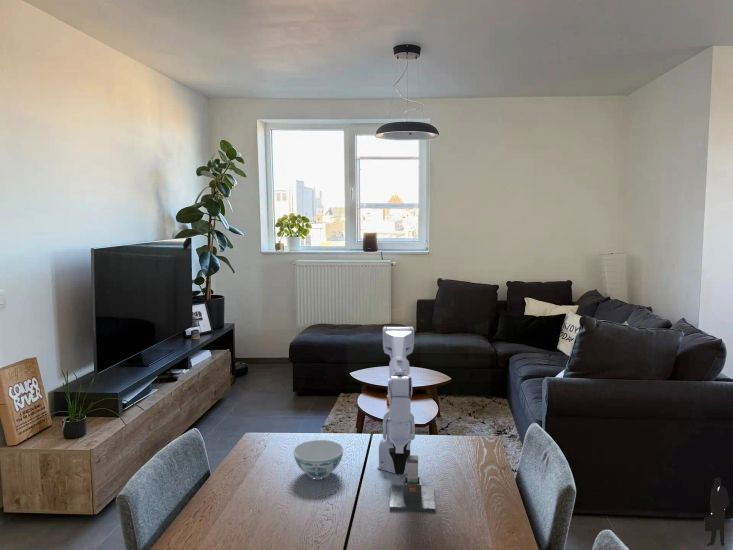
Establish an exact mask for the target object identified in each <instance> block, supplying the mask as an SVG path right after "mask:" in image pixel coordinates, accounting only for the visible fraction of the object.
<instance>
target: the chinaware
mask: <svg viewBox="0 0 733 550" xmlns="http://www.w3.org/2000/svg"><path fill="white" fill-rule="evenodd" d="M343 454H344V447H343V446H342V445H341V444H340V443H338V442H336V441H332V440H327V439H314V440H309V441H305V442H302V443H300V444H298V445H297V446H295V447H294V448H293V456H294V461H295V462H296V464H297V466H298V468H299V469H300V470H301V471H302V472H303V473H305V474H306V475H307V477H308V476H309V477H308V478H310V477H311V478H310V479H312V478H315V479H314V480H322V479H321V478H324V479H326V478H325V477H327V478H328V477H330V475H331V473H332V472H334V470H336V469H337V468H338V466H339V464H340V463H341V461H342V458H343Z"/></svg>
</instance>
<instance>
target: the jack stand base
mask: <svg viewBox="0 0 733 550" xmlns="http://www.w3.org/2000/svg"><path fill="white" fill-rule="evenodd" d="M390 487H391V488H390V498H389V499H390V500H389V501H390V502H389V511H396V512H398V511H400V512H423V513H436V500H435V489H434V485H422V476H418V484H407V475H404V476H403V485H402V484H391V486H390Z"/></svg>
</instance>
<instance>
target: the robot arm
mask: <svg viewBox="0 0 733 550" xmlns="http://www.w3.org/2000/svg"><path fill="white" fill-rule="evenodd" d="M414 345H415V328H414V327H413V326H383V327H382V347H383V348H382V349H383V353H384V354H386V355H388V356H389V358H390V361H389V365H388V367H389V369H388V371H389V372H388V373H389V374H388V375H389V376H388V378H387V395H388V405H389V407H388V408H389V409H388V410H386V412H384V413H383V416H382V417H383V418H382V419H383V420H382V439H381V440H380V442H379V445H378V465H377V469H378V470H382V471H385V472H389V473H392V474H395V475H397V476H400V477H404V476H406V475H407V458H408V456H409V455H411V443H412V441H414V440H415V438H416V437H415V436H416V434H415V433H416V431H415V430H416V429H415V427H416V425H415V424H416V423H415V416H414V413H412V411H411V398H412V395H413V379H412V375H411V373H410V372H411V370H410V361H409V360H408V359H407V356H409V355H410V354H413V351H414V347H415V346H414Z"/></svg>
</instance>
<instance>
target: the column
mask: <svg viewBox="0 0 733 550" xmlns="http://www.w3.org/2000/svg"><path fill="white" fill-rule="evenodd" d="M406 476H407V484H418V477H419V455H414V454H413V455H411V454H410V455H409V456H408V458H407V473H406Z"/></svg>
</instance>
